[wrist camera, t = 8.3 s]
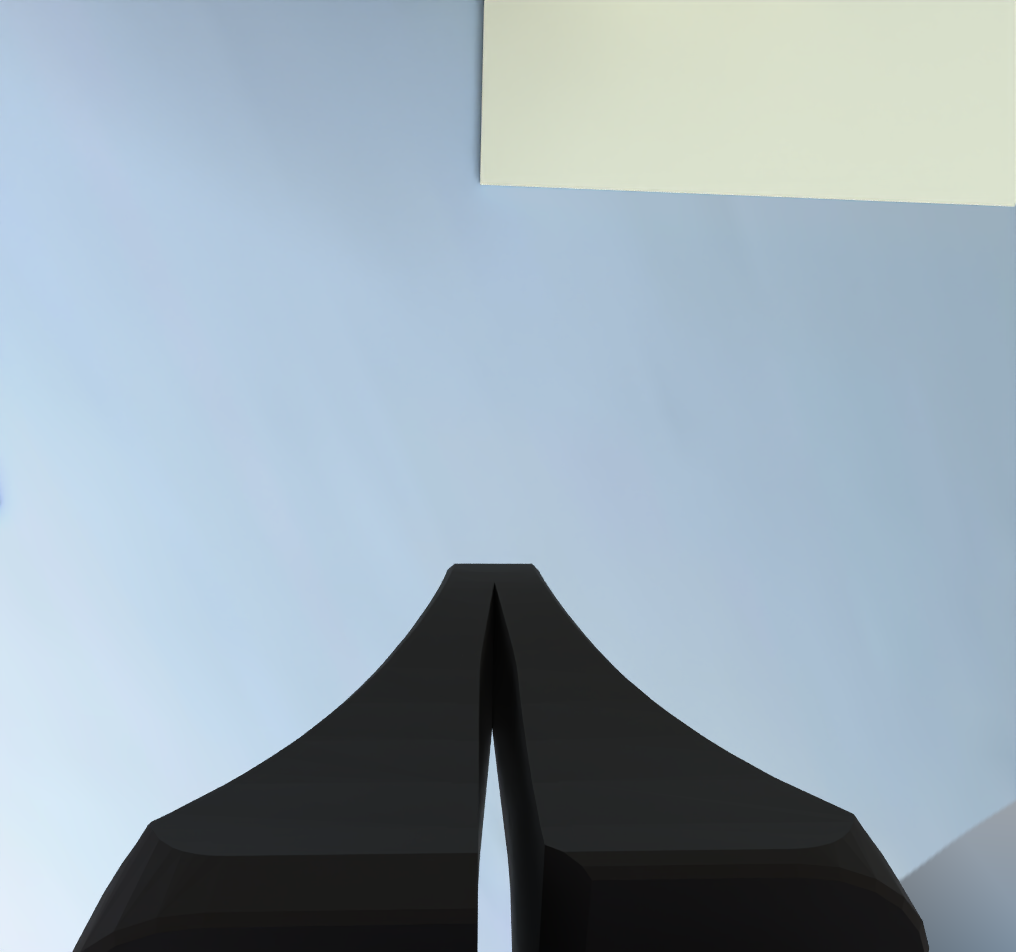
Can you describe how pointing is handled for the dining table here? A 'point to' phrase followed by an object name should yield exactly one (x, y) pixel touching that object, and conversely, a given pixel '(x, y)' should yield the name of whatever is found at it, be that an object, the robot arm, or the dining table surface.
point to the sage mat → (754, 98)
